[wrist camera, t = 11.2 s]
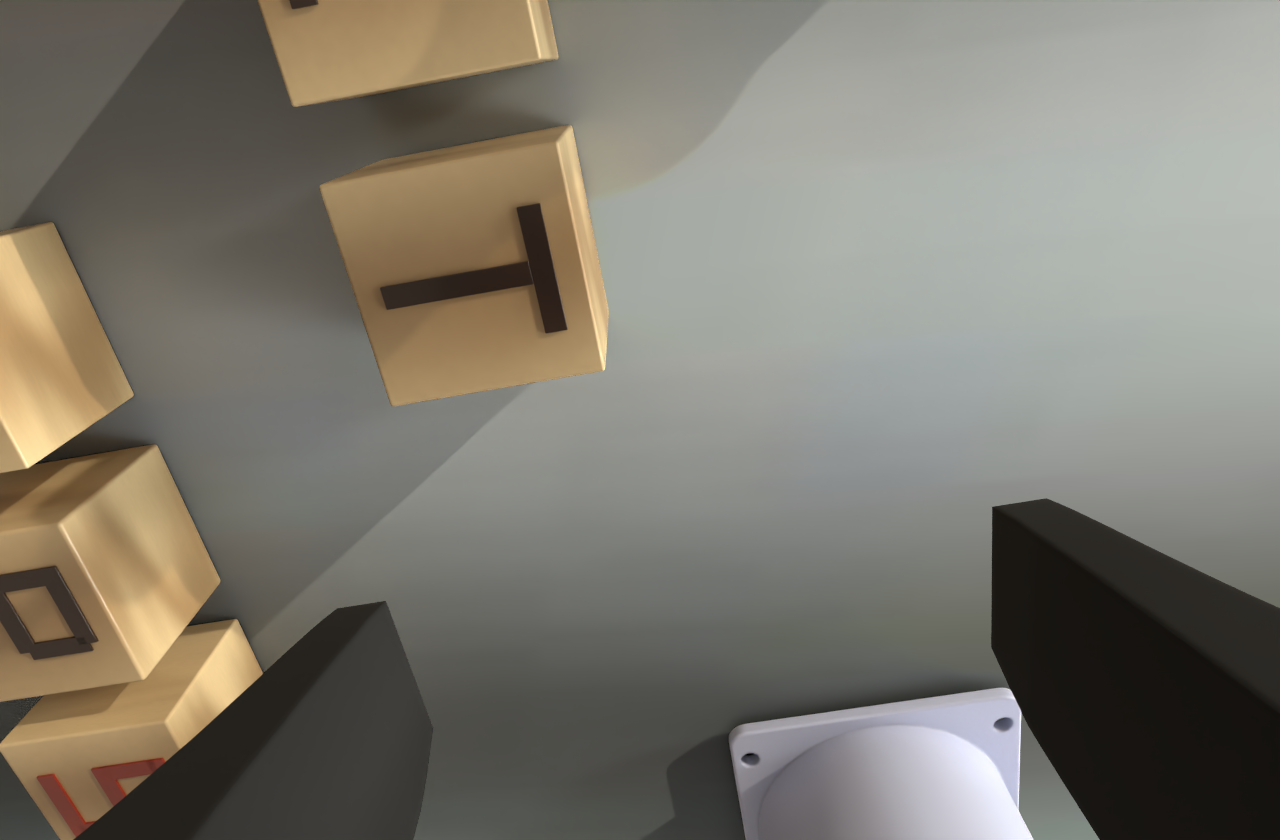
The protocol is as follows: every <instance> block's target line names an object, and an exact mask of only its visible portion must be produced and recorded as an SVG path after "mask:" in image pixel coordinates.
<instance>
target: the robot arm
mask: <svg viewBox="0 0 1280 840" xmlns="http://www.w3.org/2000/svg"><path fill="white" fill-rule="evenodd" d="M991 647H992V650H993V652H994V654H995V656H996V658H997V661H998V663H999V665H1000V667H1001V669H1002V672H1003V674H1004V676H1005V678H1006V680H1007V683H1008V685H1009V687H1010V689H1011V690H1010V689H1007V688H993V689H986V690H979V691H972V692H965V693H958V694H951V695H944V696H937V697H930V698H923V699H916V700H909V701H902V702H895V703H888V704H881V705H874V706H867V707H860V708H853V709H846V710H839V711H832V712H825V713H818V714H811V715H804V716H797V717H790V718H783V719H776V720H769V721H762V722H755V723H748V724H743V725H739V726H737V727H735V728H734V729H733V730H732V731H731V732H730V734H729V745H730V751H731V757H732V763H733V769H734V775H735V780H736V786H737V792H738V798H739V804H740V809H741V815H742V821H743V827H744V833H745V838H746V840H1033V838H1032V836H1031V834H1030V832H1029V830H1028V828H1027V826H1026V824H1025V822H1024V821H1023V819H1022V817H1021V815H1020V813H1019V811H1018V805H1019V769H1020V733H1021V712H1022V714H1023V716H1024V718H1025V720H1026V722H1027V724H1028V726H1029V728H1030V729H1031V731H1032V733H1033V734H1034V736H1035V738H1036V739H1037V741H1038V743H1039V744H1040V746H1041V747H1042V749H1043V751H1044V752H1045V754H1046V755H1047V757H1048V759H1049V760H1050V762H1051V763H1052V765H1053V767H1054V768H1055V770H1056V771H1057V773H1058V775H1059V776H1060V778H1061V779H1062V781H1063V783H1064V784H1065V786H1066V787H1067V789H1068V791H1069V792H1070V794H1071V795H1072V797H1073V798H1074V800H1075V802H1076V803H1077V805H1078V806H1079V808H1080V809H1081V811H1082V813H1083V814H1084V816H1085V817H1086V819H1087V820H1088V822H1089V823H1090V825H1091V827H1092V828H1093V830H1094V831H1095V833H1096V834H1097V836H1098V838H1099V839H1100V840H1280V608H1278V607H1276V606H1274V605H1271V604H1269V603H1267V602H1265V601H1262V600H1260V599H1258V598H1256V597H1254V596H1251V595H1249V594H1247V593H1245V592H1243V591H1240V590H1238V589H1236V588H1234V587H1232V586H1230V585H1228V584H1225V583H1223V582H1221V581H1219V580H1217V579H1215V578H1213V577H1211V576H1208V575H1206V574H1204V573H1202V572H1200V571H1198V570H1196V569H1194V568H1192V567H1190V566H1188V565H1185V564H1183V563H1181V562H1179V561H1177V560H1175V559H1173V558H1171V557H1169V556H1167V555H1165V554H1163V553H1161V552H1159V551H1157V550H1155V549H1153V548H1151V547H1149V546H1147V545H1144V544H1142V543H1140V542H1138V541H1136V540H1134V539H1132V538H1130V537H1128V536H1126V535H1124V534H1122V533H1120V532H1118V531H1116V530H1114V529H1112V528H1110V527H1108V526H1106V525H1104V524H1102V523H1100V522H1098V521H1096V520H1093V519H1091V518H1089V517H1087V516H1085V515H1083V514H1081V513H1079V512H1077V511H1075V510H1072V509H1070V508H1068V507H1066V506H1063V505H1061V504H1059V503H1056V502H1054V501H1051V500H1049V499H1040V500H1034V501H1027V502H1021V503H1014V504H1008V505H1001V506H995V507H992V635H991ZM1003 717H1004V718H1003ZM1000 718H1003V719H1002V720H999V721H997V720H998V719H1000ZM432 733H433V727H432V724H431V721H430V719H429V716H428V713H427V710H426V708H425V705H424V702H423V700H422V697H421V694H420V692H419V689H418V686H417V684H416V681H415V678H414V676H413V673H412V670H411V668H410V665H409V662H408V659H407V657H406V654H405V651H404V649H403V646H402V643H401V641H400V638H399V635H398V633H397V630H396V627H395V625H394V622H393V619H392V617H391V614H390V611H389V608H388V606H387V603H386V601H383V602H377V603H370V604H364V605H357V606H351V607H344V608H338V609H336V610H335V611H333V612H332V613H331V614H330V615H328V616H327V617H326V618H325V619H323V620H322V621H321V622H320V623H319V624H317V625H316V626H315V627H314V628H313V629H312V630H310V631H309V632H308V633H307V634H306V635H305V636H304V637H303V638H301V639H300V640H299V641H298V642H297V643H296V644H295V645H294V646H293V647H292V648H290V649H289V650H288V651H287V652H286V653H285V654H284V655H283V656H282V657H281V658H280V659H279V660H277V661H276V662H275V663H274V664H273V665H272V666H271V667H270V668H269V669H268V670H267V671H266V672H264V673H263V674H262V675H261V676H260V677H259V678H258V679H257V680H256V681H255V682H254V683H253V684H252V685H250V686H249V687H248V688H247V689H246V690H245V691H244V692H243V693H242V694H241V695H240V696H238V697H237V698H236V699H235V700H234V701H233V702H232V703H231V704H230V705H229V706H228V707H226V708H225V709H224V710H223V711H222V712H221V713H220V714H219V715H218V716H217V717H216V718H214V719H213V720H212V721H211V722H210V723H209V724H208V725H207V726H206V727H205V728H204V729H202V730H201V731H200V732H199V733H198V734H197V735H196V736H195V737H194V738H193V739H191V740H190V741H189V742H188V743H187V744H186V745H184V746H183V747H182V748H181V749H180V750H179V751H177V752H176V753H175V754H174V755H173V756H172V757H171V758H169V759H168V760H167V761H166V762H165V763H164V764H162V765H161V766H160V767H159V768H158V769H157V770H155V771H154V772H153V773H152V774H151V775H150V776H148V777H147V778H146V779H145V780H144V781H143V782H141V783H140V784H139V785H138V786H137V787H136V788H135V789H133V790H132V791H131V792H130V793H129V794H128V795H126V796H125V797H124V798H123V799H122V800H121V801H119V802H118V803H117V804H116V805H115V806H114V807H112V808H111V809H110V810H109V811H108V812H107V813H105V814H104V815H103V816H102V817H101V818H99V819H98V820H97V821H96V822H94V823H93V824H92V825H91V826H90V827H88V828H87V829H86V830H85V831H83V832H82V833H81V834H80V835H78V836H77V837H76V838H75V839H73V840H413V838H414V834H415V831H416V827H417V823H418V819H419V816H420V812H421V807H422V801H423V795H424V789H425V783H426V777H427V770H428V763H429V755H430V748H431V741H432ZM748 753H754V754H753V755H750V756H744V755H745V754H748Z"/></svg>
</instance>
